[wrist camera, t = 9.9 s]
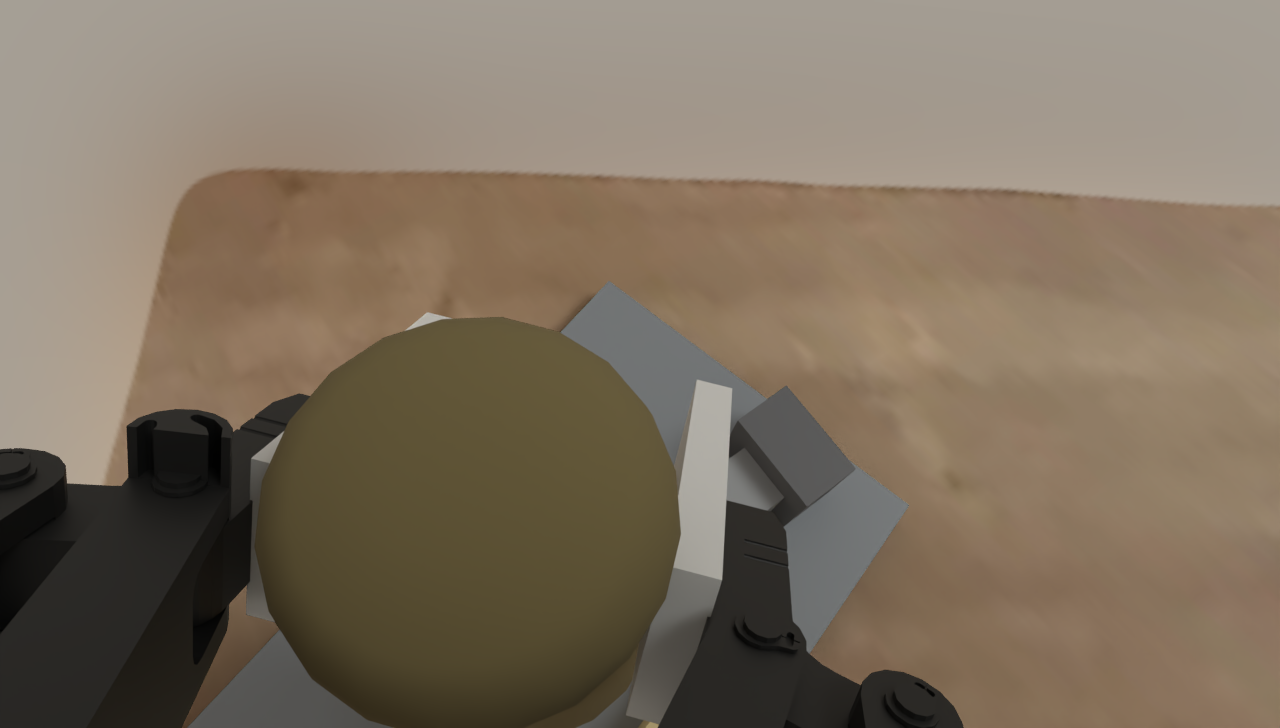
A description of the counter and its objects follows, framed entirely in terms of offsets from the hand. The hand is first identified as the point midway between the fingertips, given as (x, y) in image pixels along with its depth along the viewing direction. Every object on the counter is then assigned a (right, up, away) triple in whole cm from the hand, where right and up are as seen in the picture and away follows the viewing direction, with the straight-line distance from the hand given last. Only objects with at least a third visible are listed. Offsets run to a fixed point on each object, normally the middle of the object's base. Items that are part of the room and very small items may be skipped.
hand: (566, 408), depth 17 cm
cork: (-1, -5, +2) cm, 5 cm away
